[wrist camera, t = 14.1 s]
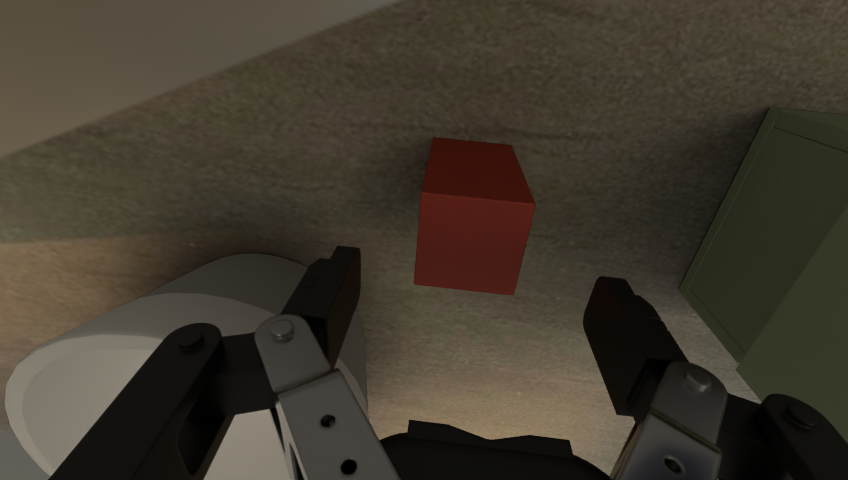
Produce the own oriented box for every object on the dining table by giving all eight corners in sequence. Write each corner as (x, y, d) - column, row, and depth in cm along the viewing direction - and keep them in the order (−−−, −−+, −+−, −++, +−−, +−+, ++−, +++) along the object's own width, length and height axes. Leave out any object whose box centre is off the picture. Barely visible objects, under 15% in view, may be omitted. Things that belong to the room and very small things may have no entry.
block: (433, 137, 22) (421, 192, 15) (511, 145, 22) (536, 204, 15) (426, 208, 24) (413, 284, 17) (497, 215, 24) (513, 296, 17)
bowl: (246, 160, 23) (106, 253, 14) (450, 348, 30) (446, 499, 20) (105, 312, 31) (-50, 441, 21) (292, 438, 37) (236, 580, 28)
